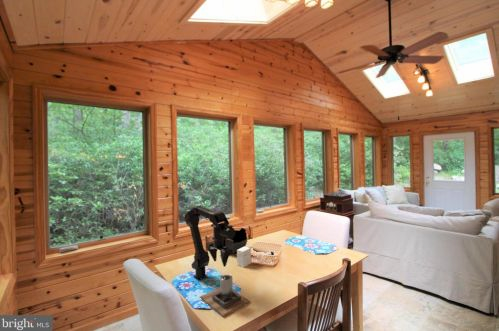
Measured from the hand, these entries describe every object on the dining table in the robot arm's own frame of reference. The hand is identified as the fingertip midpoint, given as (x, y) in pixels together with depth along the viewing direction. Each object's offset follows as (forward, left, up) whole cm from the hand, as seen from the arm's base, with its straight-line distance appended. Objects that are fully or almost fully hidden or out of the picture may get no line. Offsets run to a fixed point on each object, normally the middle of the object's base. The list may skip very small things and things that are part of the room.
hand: (219, 263), depth 136 cm
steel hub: (+14, -6, -12) cm, 19 cm away
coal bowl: (-35, +37, -13) cm, 53 cm away
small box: (-13, +28, -13) cm, 34 cm away
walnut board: (+12, -6, -13) cm, 19 cm away
